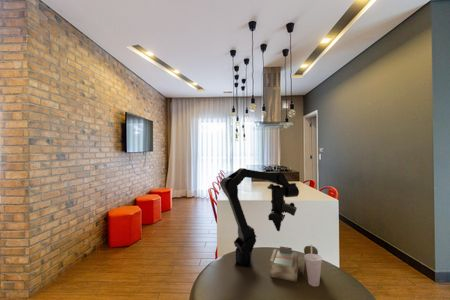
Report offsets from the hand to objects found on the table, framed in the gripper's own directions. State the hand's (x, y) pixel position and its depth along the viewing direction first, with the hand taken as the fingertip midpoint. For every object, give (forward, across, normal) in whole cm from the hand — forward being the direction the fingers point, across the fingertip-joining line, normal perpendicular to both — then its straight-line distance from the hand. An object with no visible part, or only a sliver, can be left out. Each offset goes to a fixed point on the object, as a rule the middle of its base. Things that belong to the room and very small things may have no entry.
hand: (278, 231), depth 103 cm
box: (+12, -13, -4) cm, 18 cm away
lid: (+7, -13, -4) cm, 15 cm away
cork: (+12, -12, -14) cm, 22 cm away
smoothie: (+12, -18, -15) cm, 26 cm away
